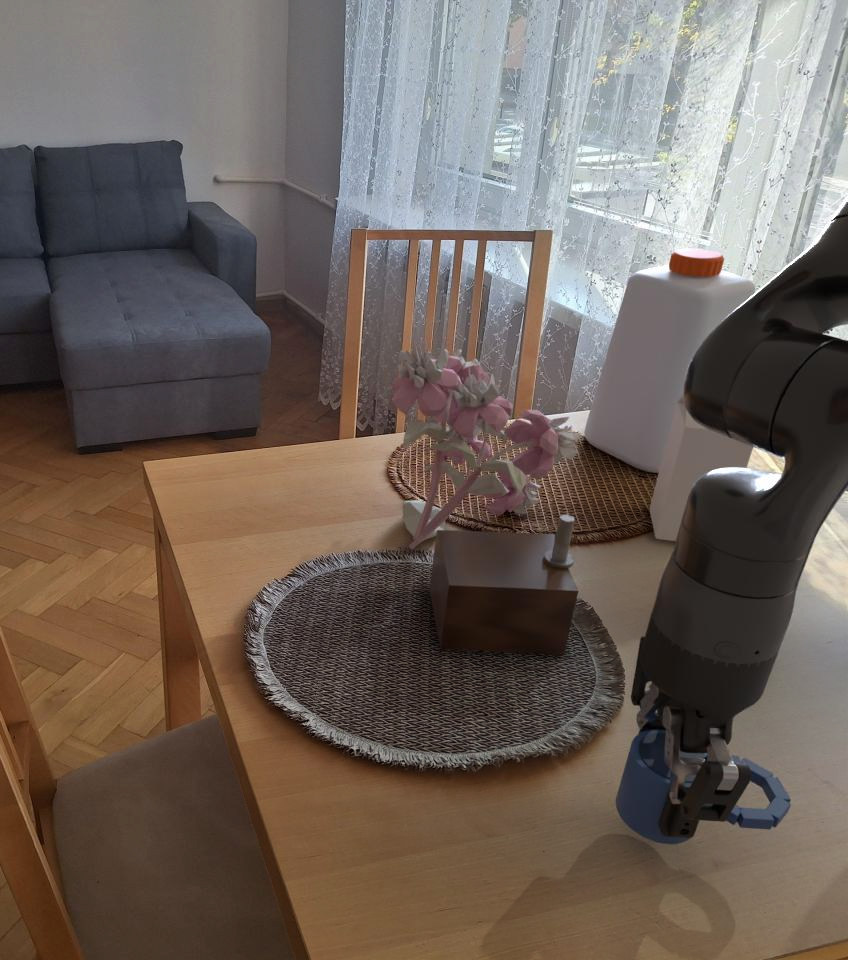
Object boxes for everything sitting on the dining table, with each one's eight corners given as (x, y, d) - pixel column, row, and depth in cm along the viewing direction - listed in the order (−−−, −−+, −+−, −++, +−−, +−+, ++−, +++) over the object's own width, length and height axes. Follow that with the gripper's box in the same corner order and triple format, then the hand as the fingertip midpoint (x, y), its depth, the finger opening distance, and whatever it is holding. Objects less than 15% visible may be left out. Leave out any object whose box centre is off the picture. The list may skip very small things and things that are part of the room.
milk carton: (721, 549, 101) (768, 400, 91) (654, 539, 103) (694, 393, 93) (711, 518, 106) (754, 376, 97) (648, 510, 109) (685, 370, 99)
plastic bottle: (655, 482, 115) (709, 275, 101) (569, 438, 127) (607, 247, 113) (733, 458, 120) (794, 258, 106) (644, 418, 132) (689, 234, 118)
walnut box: (548, 595, 94) (569, 492, 87) (571, 656, 85) (596, 547, 79) (429, 590, 95) (441, 488, 89) (440, 649, 86) (454, 541, 80)
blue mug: (753, 788, 67) (775, 732, 64) (790, 855, 62) (816, 797, 59) (605, 779, 68) (620, 724, 66) (629, 844, 63) (646, 787, 60)
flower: (561, 595, 91) (620, 363, 89) (352, 544, 96) (402, 324, 94) (538, 567, 111) (585, 376, 108) (365, 526, 116) (407, 344, 113)
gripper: (833, 702, 50) (754, 888, 58) (730, 561, 62) (677, 730, 71) (697, 696, 51) (637, 879, 59) (622, 558, 63) (582, 725, 71)
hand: (659, 797), depth 65 cm, fingers closed on blue mug, 5 cm apart
